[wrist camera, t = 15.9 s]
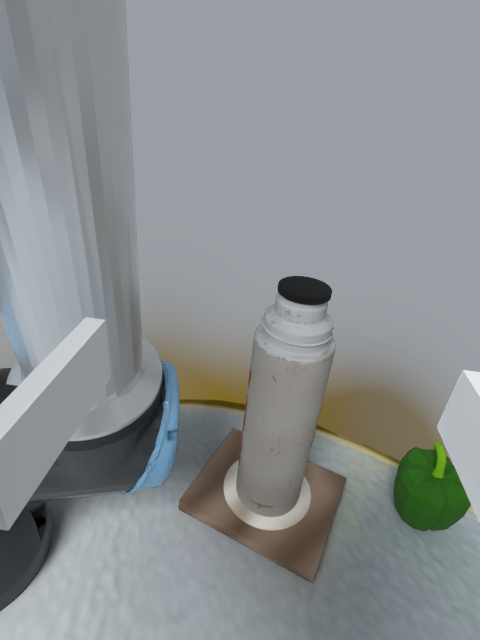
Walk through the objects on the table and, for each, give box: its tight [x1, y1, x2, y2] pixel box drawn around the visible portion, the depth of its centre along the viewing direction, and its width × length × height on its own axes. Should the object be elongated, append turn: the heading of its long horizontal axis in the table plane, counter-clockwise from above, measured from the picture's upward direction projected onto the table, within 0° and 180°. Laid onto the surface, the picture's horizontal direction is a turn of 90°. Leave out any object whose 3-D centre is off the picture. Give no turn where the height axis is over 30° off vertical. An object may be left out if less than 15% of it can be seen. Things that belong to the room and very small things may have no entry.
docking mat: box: [179, 428, 346, 583], centre depth 50 cm, size 17×14×2 cm
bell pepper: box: [394, 442, 471, 531], centre depth 48 cm, size 8×8×10 cm
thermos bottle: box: [236, 276, 336, 517], centre depth 43 cm, size 8×8×28 cm
